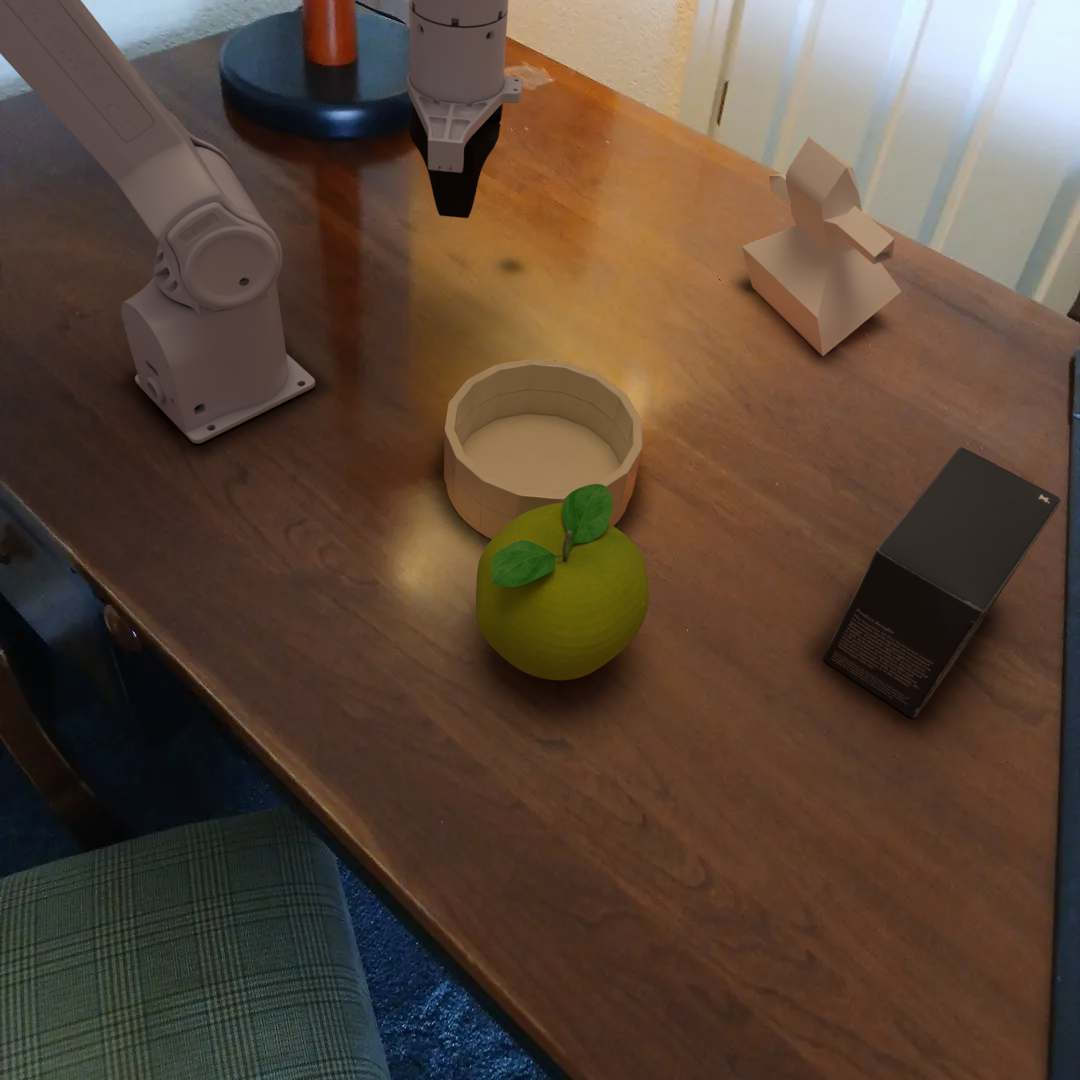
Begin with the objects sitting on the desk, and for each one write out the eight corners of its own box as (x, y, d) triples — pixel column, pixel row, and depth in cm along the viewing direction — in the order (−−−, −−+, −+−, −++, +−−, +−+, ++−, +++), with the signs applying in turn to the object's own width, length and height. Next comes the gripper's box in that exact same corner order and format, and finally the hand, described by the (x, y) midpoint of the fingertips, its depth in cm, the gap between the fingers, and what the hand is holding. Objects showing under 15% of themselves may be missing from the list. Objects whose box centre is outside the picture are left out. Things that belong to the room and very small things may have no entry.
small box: (896, 555, 67) (959, 438, 59) (990, 611, 65) (1070, 497, 57) (814, 657, 61) (873, 543, 53) (915, 723, 59) (991, 614, 51)
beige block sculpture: (794, 242, 89) (843, 84, 78) (904, 341, 81) (974, 182, 71) (713, 265, 86) (752, 104, 75) (819, 370, 78) (879, 208, 68)
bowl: (532, 583, 63) (538, 530, 59) (406, 468, 68) (405, 412, 65) (668, 490, 69) (682, 436, 65) (543, 390, 74) (549, 335, 70)
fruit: (438, 642, 60) (439, 529, 52) (550, 556, 65) (566, 441, 57) (554, 746, 56) (573, 641, 49) (664, 647, 61) (697, 537, 53)
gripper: (520, 72, 56) (506, 281, 67) (533, -40, 65) (519, 159, 76) (389, 59, 56) (395, 271, 66) (420, -51, 65) (421, 150, 76)
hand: (454, 211), depth 71 cm, fingers closed
